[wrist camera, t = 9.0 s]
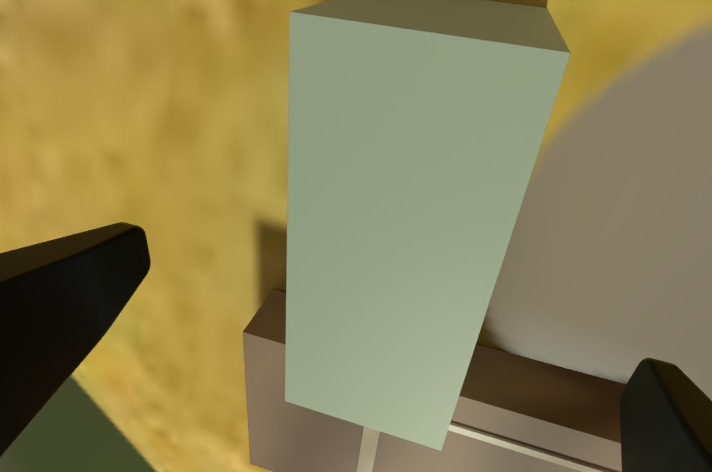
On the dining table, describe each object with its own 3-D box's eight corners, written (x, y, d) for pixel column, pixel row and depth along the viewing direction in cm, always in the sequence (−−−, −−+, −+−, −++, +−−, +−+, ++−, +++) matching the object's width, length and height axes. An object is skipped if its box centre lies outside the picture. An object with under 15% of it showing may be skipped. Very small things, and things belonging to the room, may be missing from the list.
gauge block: (546, 7, 11) (570, 52, 6) (462, 303, 16) (438, 458, 11) (383, -14, 12) (290, 11, 7) (352, 275, 17) (284, 408, 12)
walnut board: (949, 472, 14) (1026, 566, 12) (789, 585, 18) (825, 669, 16) (273, 289, 18) (241, 333, 16) (274, 416, 22) (249, 465, 20)
